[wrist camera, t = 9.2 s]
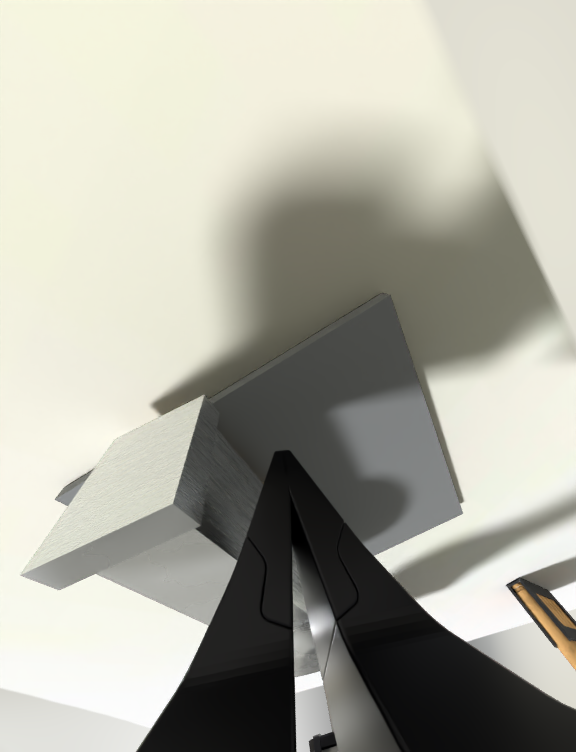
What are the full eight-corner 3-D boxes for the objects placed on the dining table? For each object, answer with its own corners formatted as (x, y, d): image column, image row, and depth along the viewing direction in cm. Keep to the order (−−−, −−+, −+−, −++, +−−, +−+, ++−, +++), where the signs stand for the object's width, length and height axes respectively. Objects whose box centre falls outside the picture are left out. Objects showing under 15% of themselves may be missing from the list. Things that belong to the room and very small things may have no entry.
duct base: (456, 506, 18) (493, 549, 15) (266, 596, 20) (270, 649, 17) (382, 292, 9) (435, 309, 7) (63, 488, 11) (8, 559, 9)
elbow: (360, 556, 17) (395, 648, 13) (272, 594, 17) (280, 693, 13) (239, 376, 9) (234, 474, 5) (82, 455, 9) (-33, 600, 5)
